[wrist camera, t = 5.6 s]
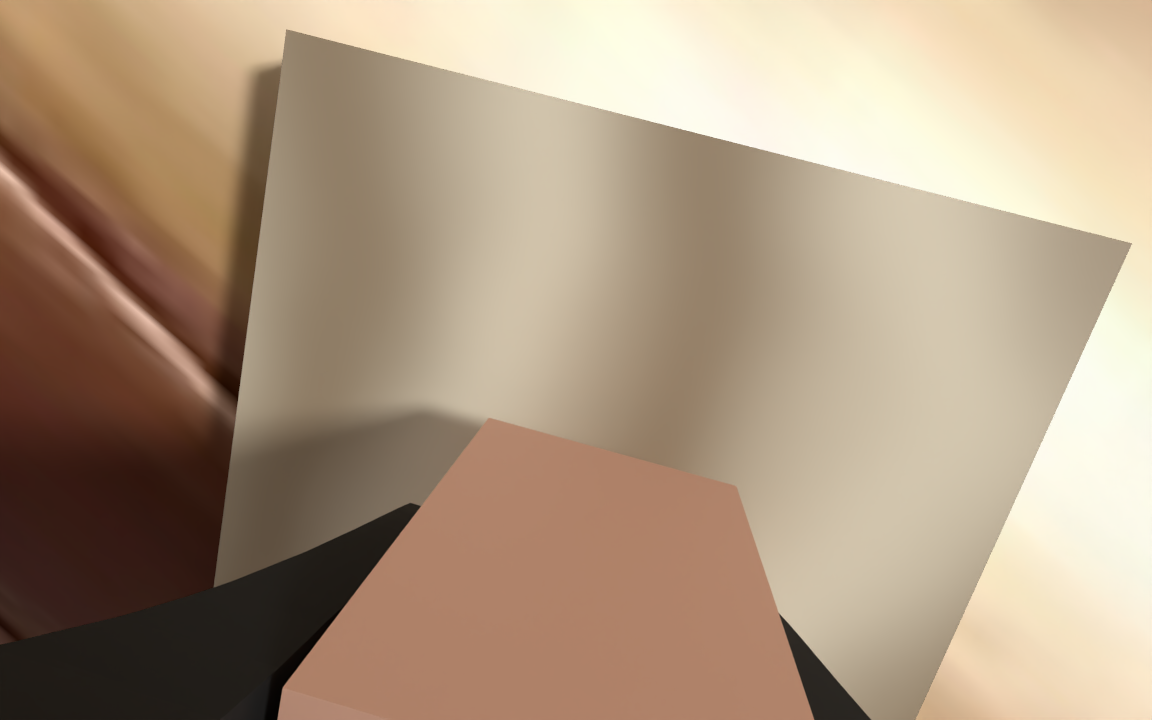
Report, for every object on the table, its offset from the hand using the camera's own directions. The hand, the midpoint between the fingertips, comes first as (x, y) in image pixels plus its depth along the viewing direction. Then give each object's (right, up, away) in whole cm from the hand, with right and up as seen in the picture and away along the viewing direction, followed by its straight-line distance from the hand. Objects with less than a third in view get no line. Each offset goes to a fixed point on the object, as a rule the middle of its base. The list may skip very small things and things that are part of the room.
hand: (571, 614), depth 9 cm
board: (0, +1, +4) cm, 5 cm away
